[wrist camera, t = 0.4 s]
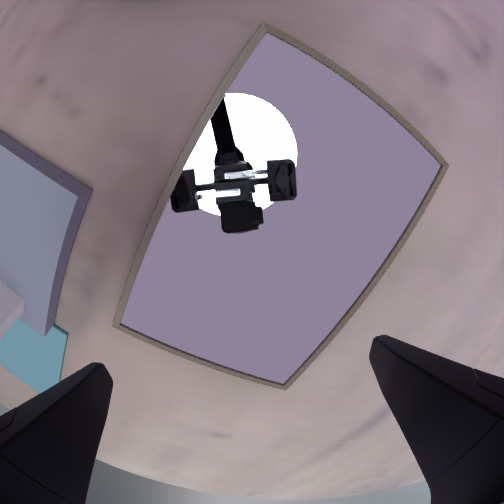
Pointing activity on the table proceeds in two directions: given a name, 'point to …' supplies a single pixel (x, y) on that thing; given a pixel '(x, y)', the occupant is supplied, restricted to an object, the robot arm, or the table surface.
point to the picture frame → (277, 215)
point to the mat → (33, 355)
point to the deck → (36, 229)
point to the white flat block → (9, 307)
